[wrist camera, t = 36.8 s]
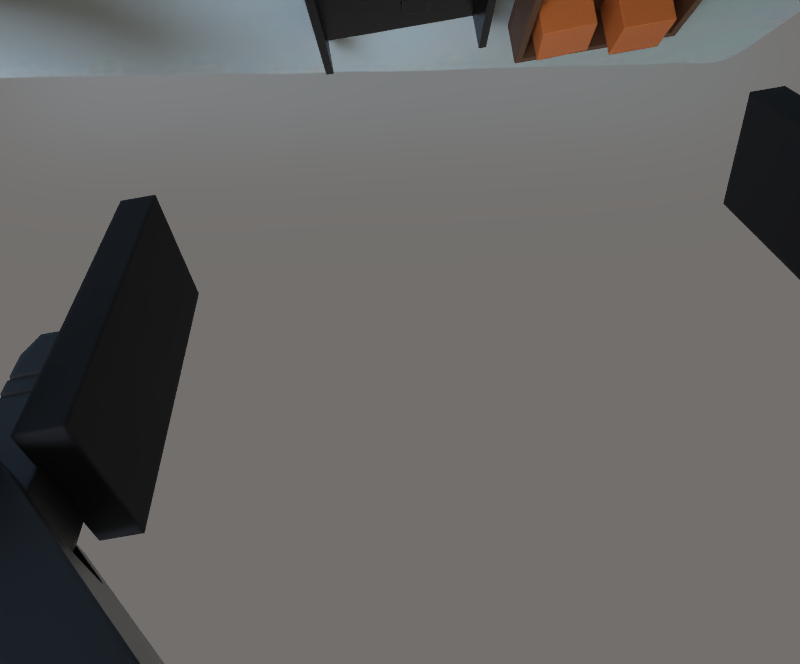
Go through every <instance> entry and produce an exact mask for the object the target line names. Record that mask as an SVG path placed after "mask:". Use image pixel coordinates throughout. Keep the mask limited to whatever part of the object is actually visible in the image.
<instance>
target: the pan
mask: <svg viewBox="0 0 800 664" xmlns="http://www.w3.org/2000/svg"><path fill="white" fill-rule="evenodd" d="M305 3H306V6H307V10H308V13H309V17H310V20H311V23H312V27H313V30H314V34H315V37H316V40H317V44H318V47H319V51H320V54H321V57H322V61H323V64H324V68H325V71H326V74H333V73H334V72H333V66H332V60H331V54H330V48H329V42H328V41H329V40H335V39H341V38H347V37H352V36H358V35H364V34H370V33H375V32H381V31H387V30H393V29H398V28H404V27H410V26H416V25H421V24H427V23H433V22H439V21H444V20H450V19H456V18H462V17H467V16H473V19H474V24H475V30H476V35H477V41H478V46H479V48H483V47H486V44H487V39H488V35H489V30H490V26H491V21H492V17H493V12H494V8H495V3H496V0H305Z"/></svg>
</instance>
